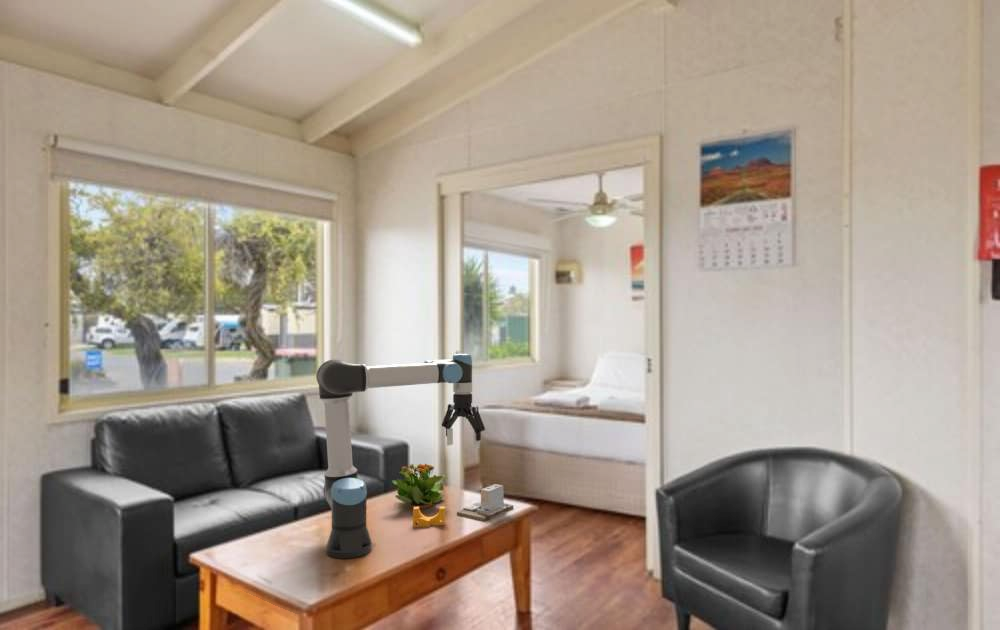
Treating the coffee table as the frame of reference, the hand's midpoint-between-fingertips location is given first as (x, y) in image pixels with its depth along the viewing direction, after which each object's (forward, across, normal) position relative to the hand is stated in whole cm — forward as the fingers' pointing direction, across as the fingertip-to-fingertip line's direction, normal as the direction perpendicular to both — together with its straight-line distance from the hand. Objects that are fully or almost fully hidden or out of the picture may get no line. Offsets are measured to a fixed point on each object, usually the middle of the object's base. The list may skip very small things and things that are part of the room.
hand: (463, 446), depth 241 cm
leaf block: (+27, +4, +13) cm, 31 cm away
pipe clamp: (+29, -7, -12) cm, 32 cm away
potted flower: (+29, -27, +3) cm, 39 cm away
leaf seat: (+27, +4, +13) cm, 31 cm away
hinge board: (+29, +1, +13) cm, 32 cm away
